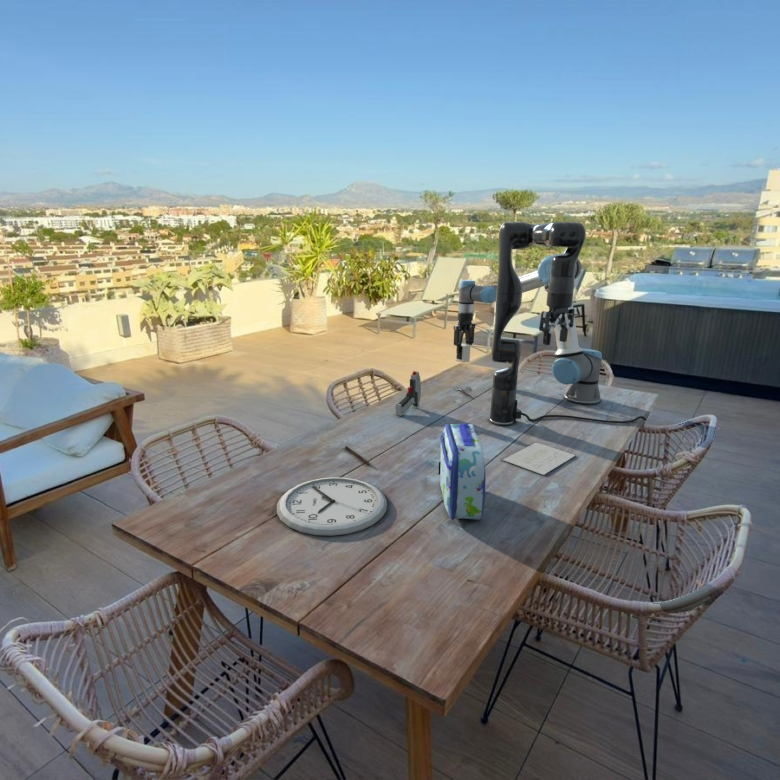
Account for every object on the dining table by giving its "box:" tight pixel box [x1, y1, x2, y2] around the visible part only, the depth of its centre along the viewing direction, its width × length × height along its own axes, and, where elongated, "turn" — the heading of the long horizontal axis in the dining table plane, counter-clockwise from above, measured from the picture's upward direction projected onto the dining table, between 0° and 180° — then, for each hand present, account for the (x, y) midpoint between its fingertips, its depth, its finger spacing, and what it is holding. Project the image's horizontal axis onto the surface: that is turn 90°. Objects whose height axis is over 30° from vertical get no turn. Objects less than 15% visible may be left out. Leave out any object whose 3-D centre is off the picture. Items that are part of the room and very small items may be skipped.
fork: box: [453, 383, 470, 397], centre depth 242 cm, size 3×16×2 cm, turn 16°
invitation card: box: [502, 442, 577, 476], centre depth 174 cm, size 21×1×15 cm
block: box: [455, 342, 472, 364], centre depth 263 cm, size 4×5×9 cm
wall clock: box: [276, 476, 388, 537], centre depth 142 cm, size 30×2×30 cm
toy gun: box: [395, 370, 422, 417], centre depth 214 cm, size 2×16×15 cm
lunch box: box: [438, 422, 486, 521], centre depth 142 cm, size 26×11×21 cm, turn 179°
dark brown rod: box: [344, 445, 370, 465], centre depth 173 cm, size 15×1×1 cm, turn 34°
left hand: (554, 343), depth 164 cm, fingers open, 8 cm apart
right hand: (462, 358), depth 264 cm, fingers closed on block, 4 cm apart
